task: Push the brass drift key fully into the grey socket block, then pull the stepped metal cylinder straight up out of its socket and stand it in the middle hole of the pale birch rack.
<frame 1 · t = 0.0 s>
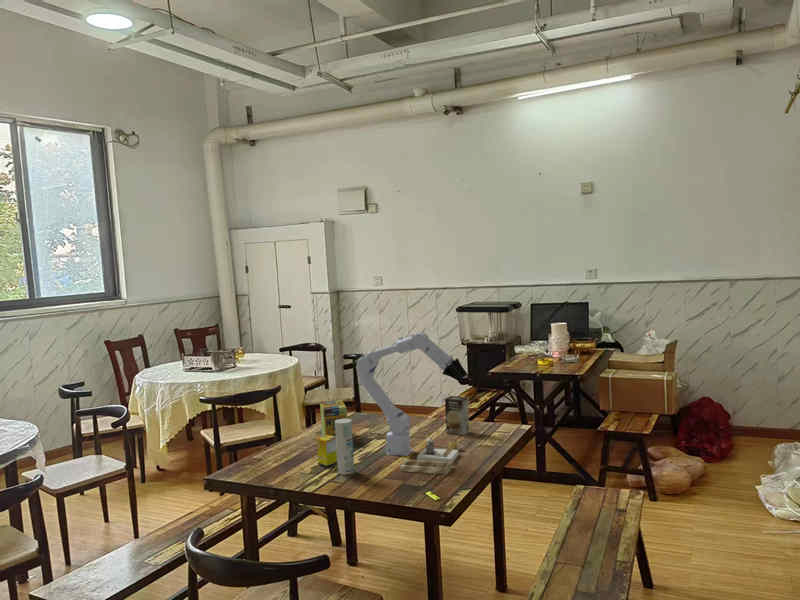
hand: (463, 377, 244), 32 cm above the table, tool tilted 50°, fingers open, 7 cm apart
rack: (426, 470, 233), on the table
coffee box: (457, 433, 280), on the table
supplement box: (328, 464, 247), on the table
drift key: (450, 449, 250), point 2 cm above the table, slide at 5.0 cm
socket block: (438, 459, 245), on the table
stepped metal cylinder: (430, 457, 246), resting on socket block
protein box: (335, 437, 283), on the table
spray can: (346, 472, 237), on the table
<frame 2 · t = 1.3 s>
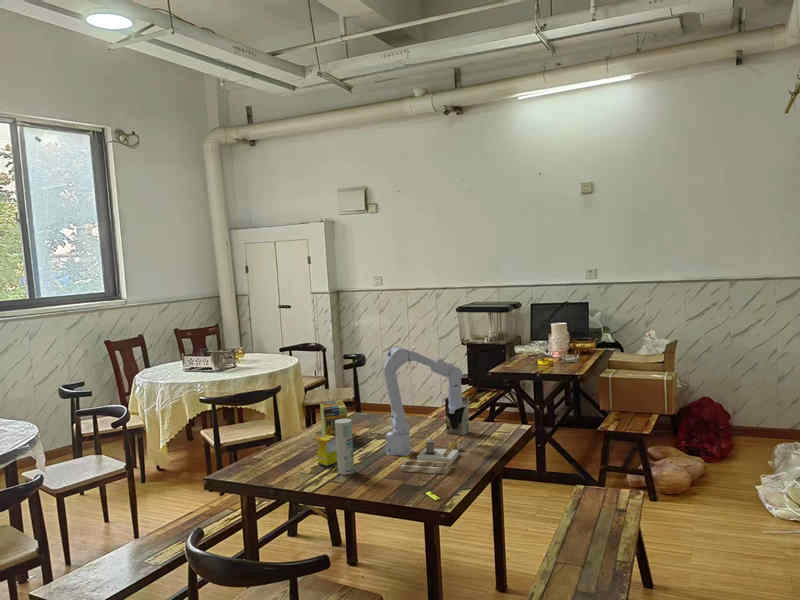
hand: (456, 426, 260), 9 cm above the table, tool pointing down, fingers open, 7 cm apart
nothing on the table moved.
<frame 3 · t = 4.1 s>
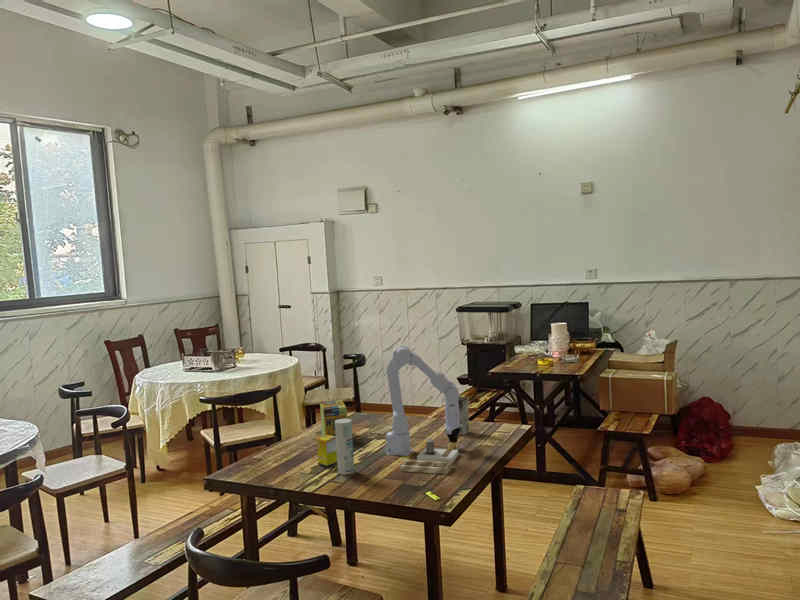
hand: (453, 446, 256), 2 cm above the table, tool pointing down, fingers closed
drift key: (449, 450, 249), point 2 cm above the table, slide at 3.4 cm, touching gripper
everything else where it was.
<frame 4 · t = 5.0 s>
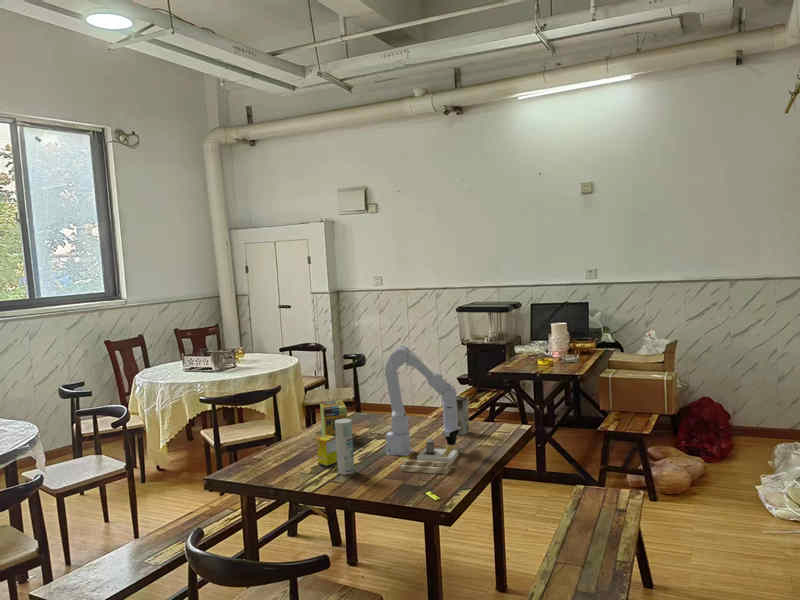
hand: (451, 448, 253), 2 cm above the table, tool pointing down, fingers closed
drift key: (447, 452, 246), point 2 cm above the table, slide at 0.3 cm, touching gripper
everything else where it was.
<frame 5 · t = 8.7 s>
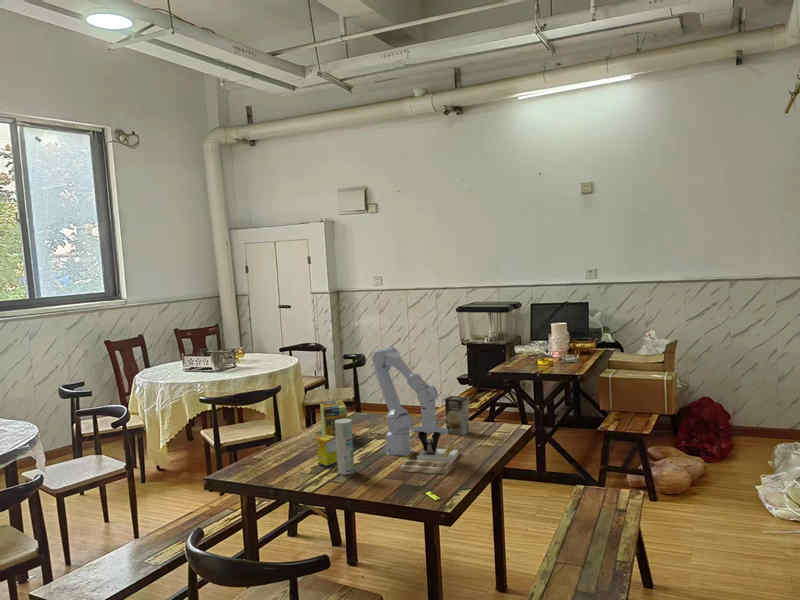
hand: (430, 450, 246), 3 cm above the table, tool pointing down, fingers closed on stepped metal cylinder, 3 cm apart
drift key: (447, 452, 246), point 2 cm above the table, slide at 0.2 cm
stepped metal cylinder: (430, 457, 246), point 1 cm above the table, touching gripper, socket block
everything else where it was.
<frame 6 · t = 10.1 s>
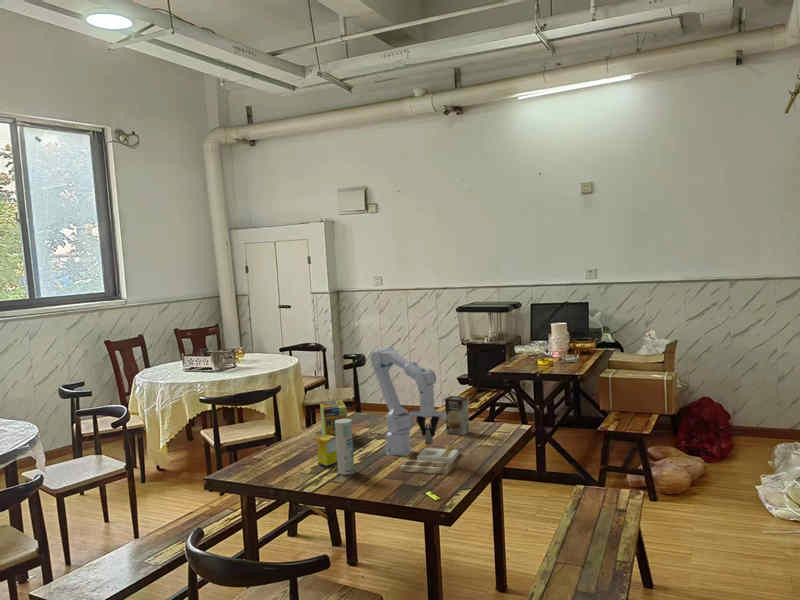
hand: (428, 435, 243), 10 cm above the table, tool pointing down, fingers closed on stepped metal cylinder, 3 cm apart
stepped metal cylinder: (429, 443, 243), point 7 cm above the table, touching gripper
everything else where it was.
when the fingers open (6 cm above the table, at t = 11.8 s): stepped metal cylinder drops 3 cm, resting on rack.
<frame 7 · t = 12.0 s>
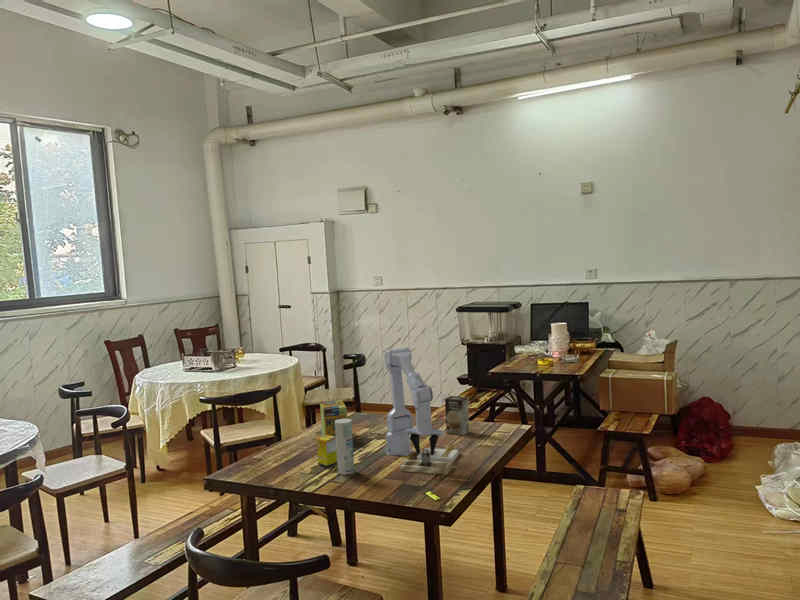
hand: (425, 454, 233), 6 cm above the table, tool pointing down, fingers open, 5 cm apart
stepped metal cylinder: (426, 468, 234), point 1 cm above the table, touching rack
everything else where it was.
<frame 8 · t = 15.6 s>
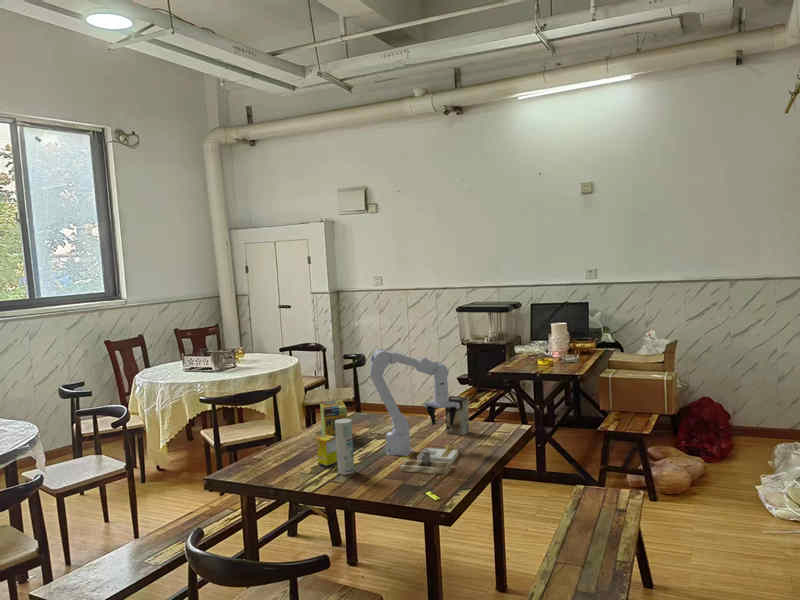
hand: (442, 424, 257), 10 cm above the table, tool pointing down, fingers open, 7 cm apart
nothing on the table moved.
at the end: drift key slide at 0.2 cm; stepped metal cylinder 0.4 cm off-centre on the rack, point 0.5 cm above the rack's base; stepped metal cylinder tilted 1° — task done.
